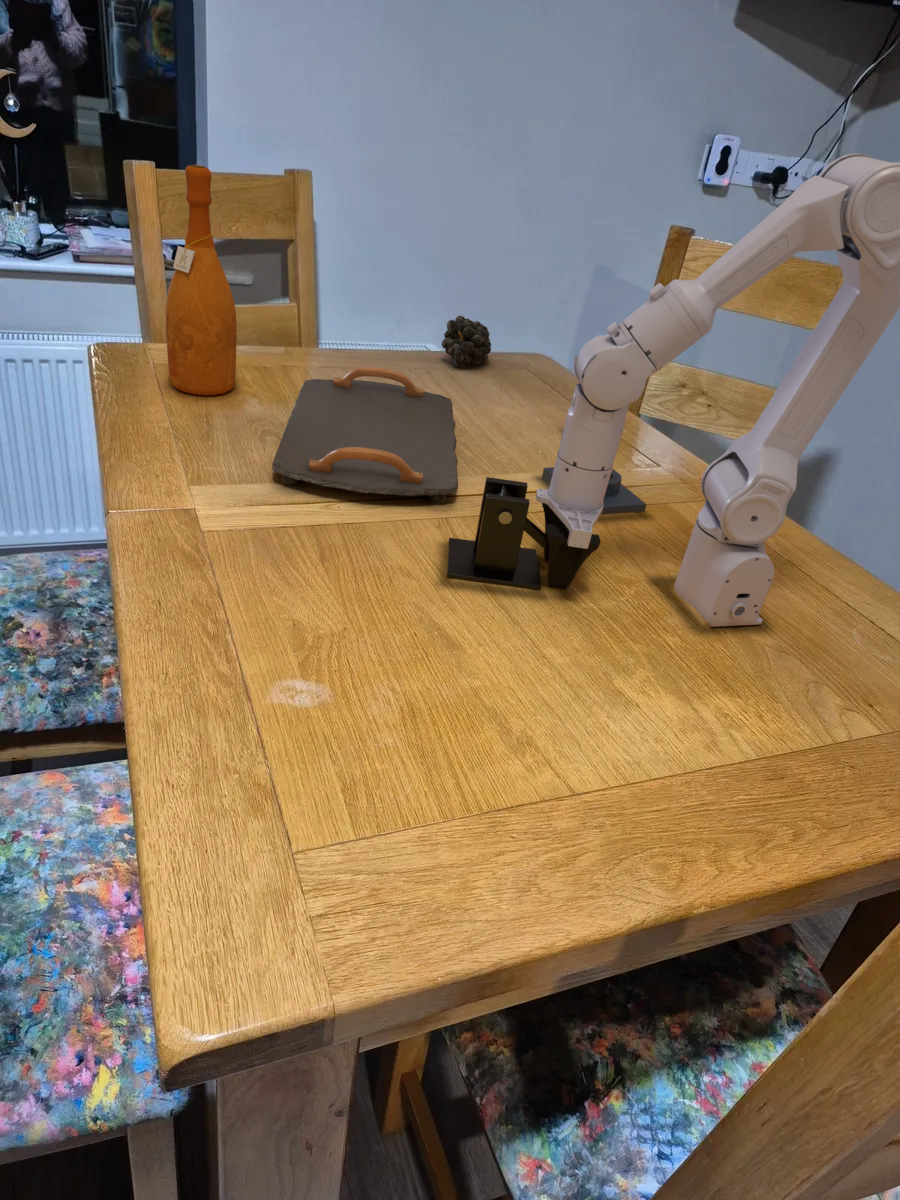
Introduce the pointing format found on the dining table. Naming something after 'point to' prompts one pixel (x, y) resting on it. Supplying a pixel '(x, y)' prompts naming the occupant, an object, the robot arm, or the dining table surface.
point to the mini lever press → (497, 542)
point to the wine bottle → (200, 303)
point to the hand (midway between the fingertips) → (555, 573)
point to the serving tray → (370, 437)
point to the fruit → (466, 341)
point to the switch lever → (528, 524)
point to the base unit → (611, 495)
